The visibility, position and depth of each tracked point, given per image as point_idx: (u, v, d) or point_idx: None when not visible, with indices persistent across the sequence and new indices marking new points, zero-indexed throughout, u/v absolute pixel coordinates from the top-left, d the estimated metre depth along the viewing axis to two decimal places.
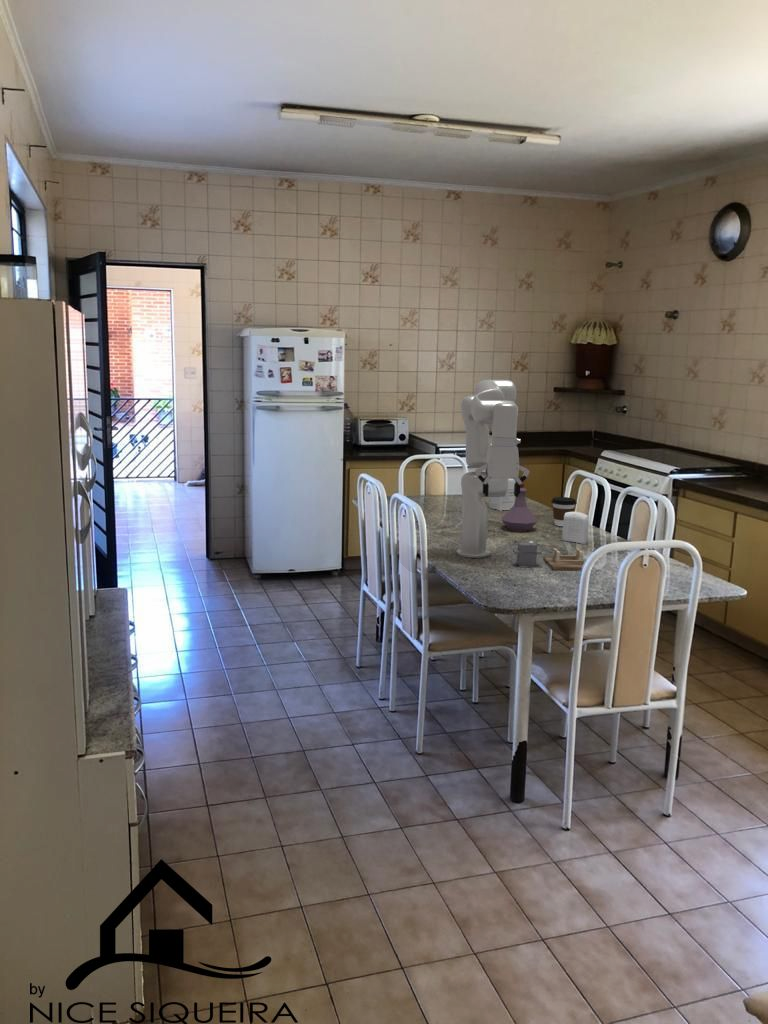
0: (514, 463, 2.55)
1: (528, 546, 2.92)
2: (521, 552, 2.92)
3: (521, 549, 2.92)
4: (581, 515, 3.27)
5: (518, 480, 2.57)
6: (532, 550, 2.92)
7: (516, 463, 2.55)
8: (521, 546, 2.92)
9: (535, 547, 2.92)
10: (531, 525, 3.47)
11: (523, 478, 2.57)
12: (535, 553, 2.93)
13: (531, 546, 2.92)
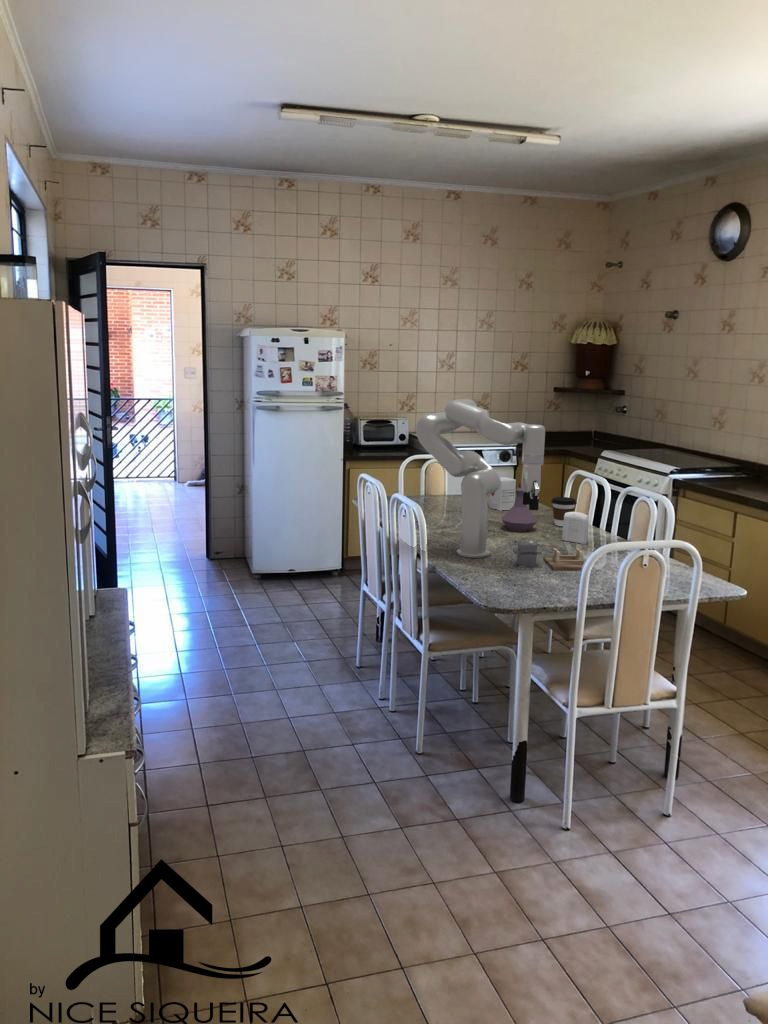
0: None
1: (528, 546, 2.92)
2: (521, 552, 2.92)
3: (521, 549, 2.92)
4: (581, 515, 3.27)
5: None
6: (532, 550, 2.92)
7: None
8: (521, 546, 2.92)
9: (535, 547, 2.92)
10: (531, 525, 3.47)
11: None
12: (535, 553, 2.93)
13: (531, 546, 2.92)
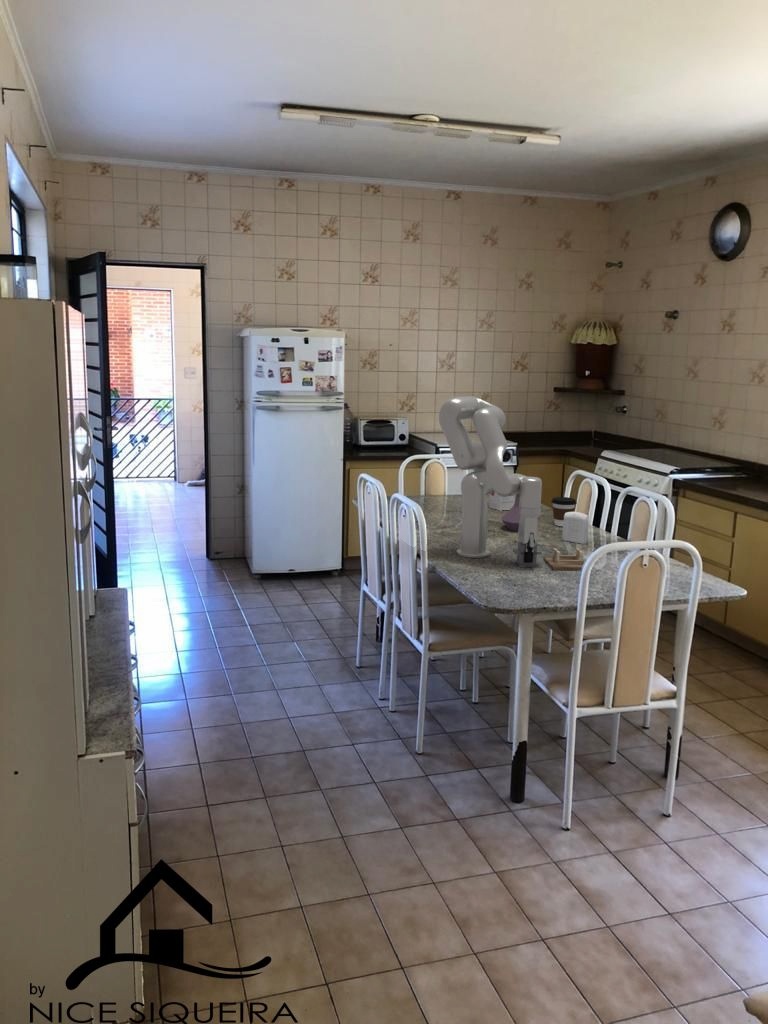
0: None
1: None
2: (521, 552, 2.92)
3: (521, 549, 2.92)
4: (581, 515, 3.27)
5: None
6: None
7: None
8: (521, 546, 2.92)
9: (535, 547, 2.92)
10: None
11: None
12: (535, 553, 2.93)
13: None
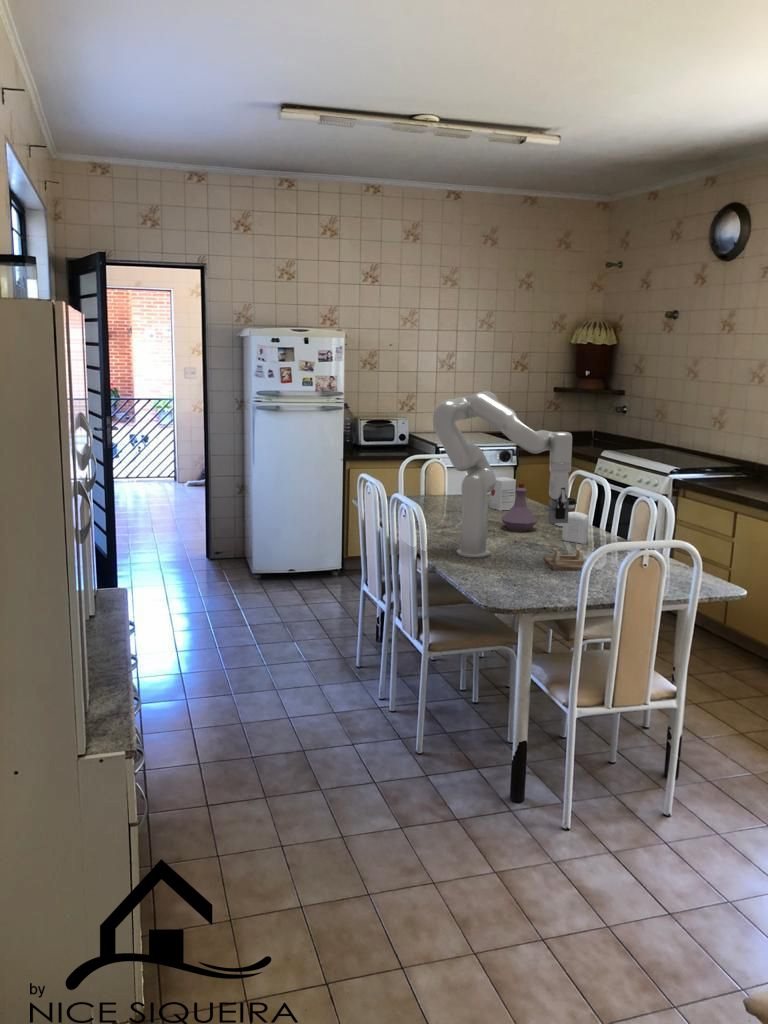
0: None
1: None
2: (552, 508, 2.89)
3: (552, 505, 2.89)
4: (581, 515, 3.27)
5: None
6: None
7: None
8: (552, 502, 2.89)
9: (567, 503, 2.89)
10: (531, 525, 3.47)
11: None
12: (567, 509, 2.90)
13: None
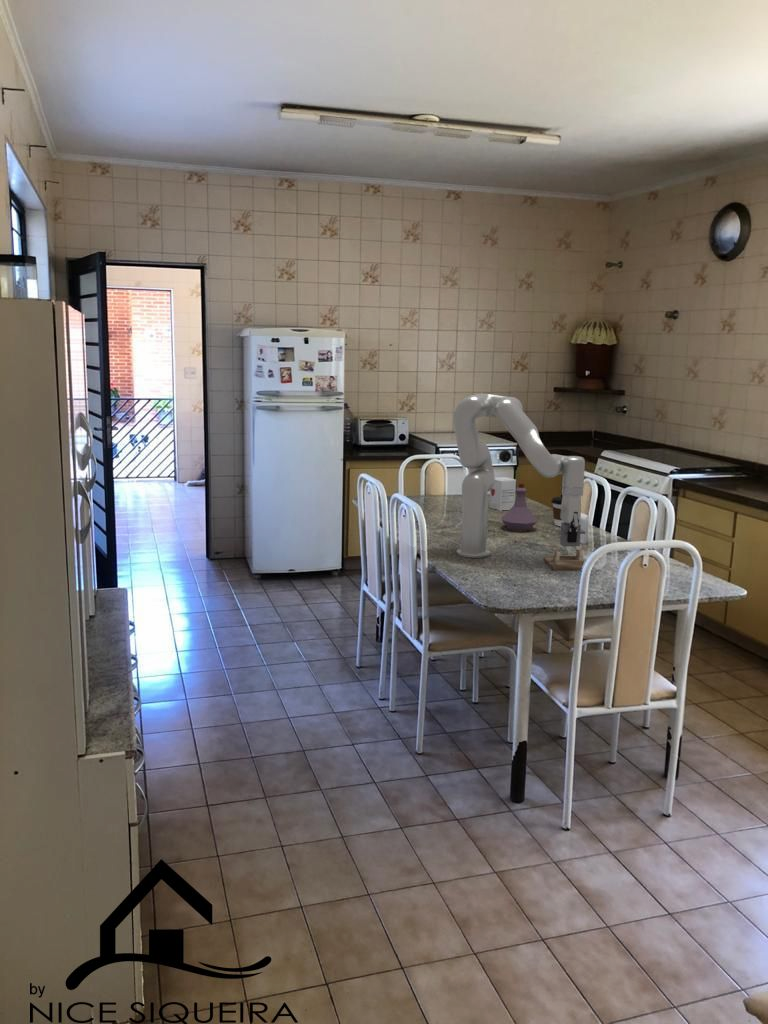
0: None
1: None
2: (565, 532, 2.92)
3: (565, 529, 2.91)
4: (581, 515, 3.27)
5: None
6: None
7: None
8: (565, 526, 2.91)
9: (579, 526, 2.91)
10: (531, 525, 3.47)
11: None
12: (579, 533, 2.92)
13: None
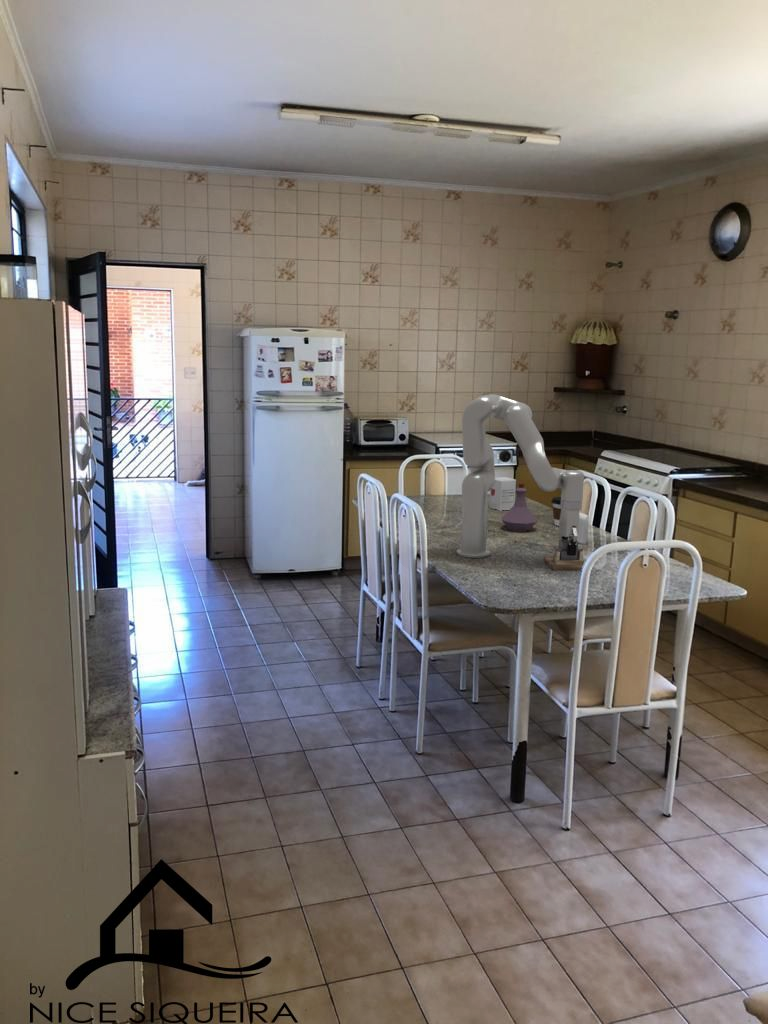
0: None
1: None
2: (562, 549, 2.93)
3: (562, 546, 2.93)
4: (581, 515, 3.27)
5: None
6: None
7: None
8: (562, 543, 2.93)
9: None
10: (531, 525, 3.47)
11: None
12: (576, 550, 2.93)
13: None
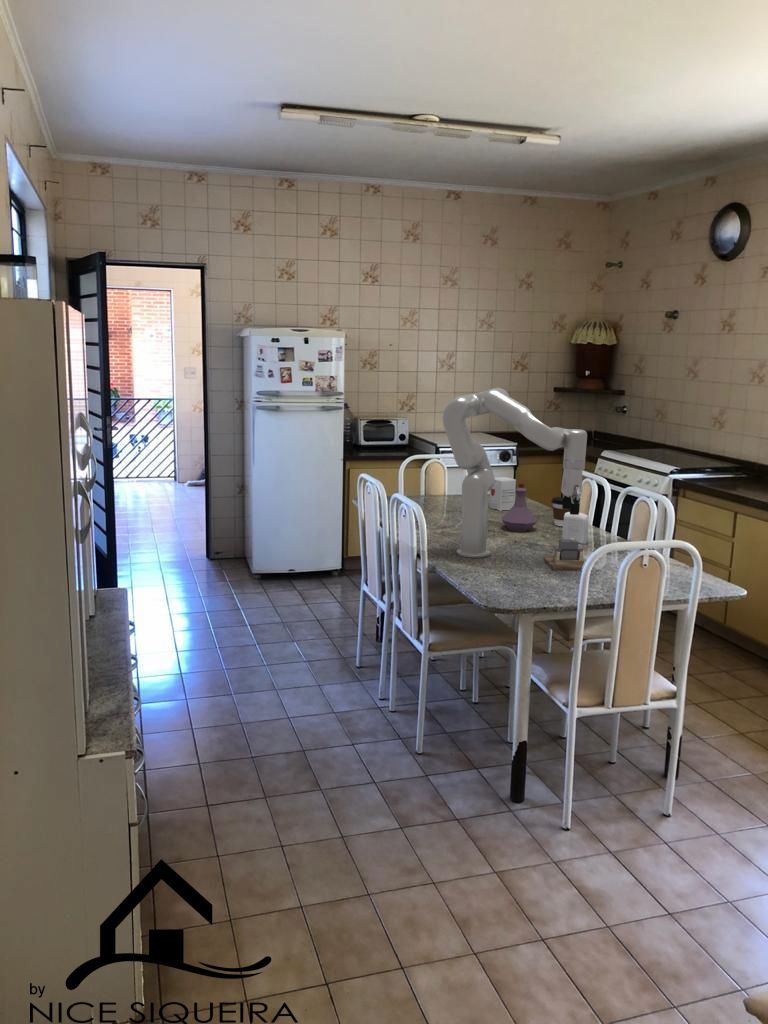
0: None
1: (570, 542, 2.93)
2: (562, 549, 2.93)
3: (562, 546, 2.93)
4: (581, 515, 3.27)
5: None
6: (573, 547, 2.93)
7: None
8: (562, 543, 2.93)
9: (576, 544, 2.93)
10: (531, 525, 3.47)
11: None
12: (576, 550, 2.93)
13: (572, 543, 2.93)
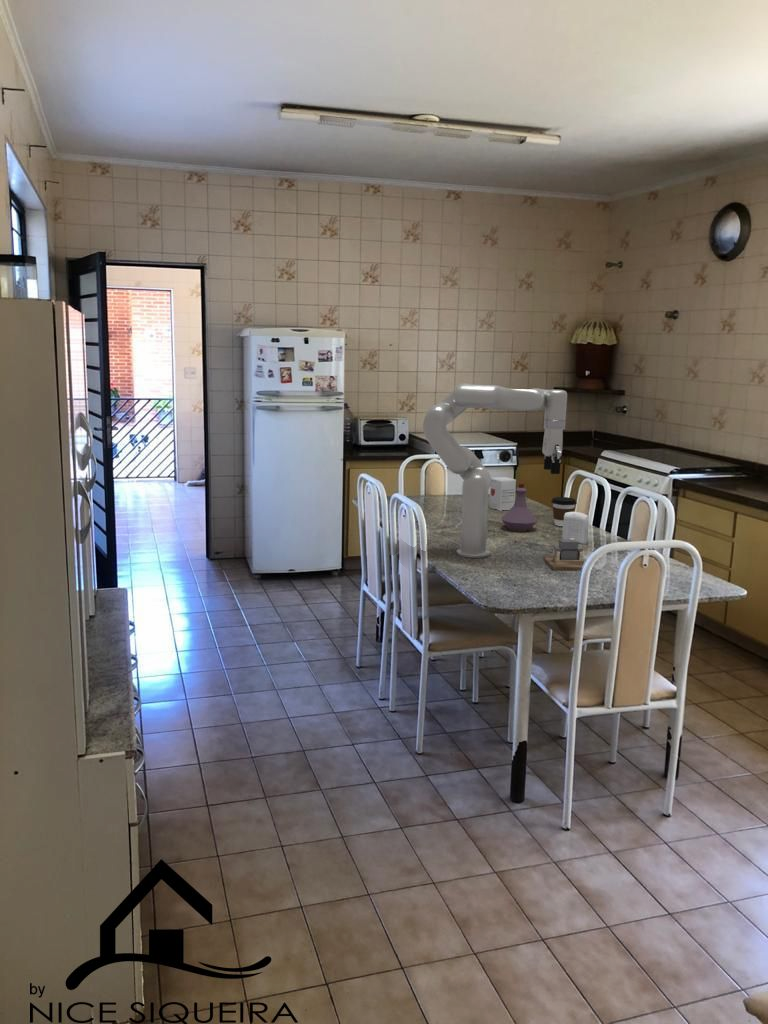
0: None
1: (570, 542, 2.93)
2: (562, 549, 2.93)
3: (562, 546, 2.93)
4: (581, 515, 3.27)
5: None
6: (573, 547, 2.93)
7: None
8: (562, 543, 2.93)
9: (576, 544, 2.93)
10: (531, 525, 3.47)
11: None
12: (576, 550, 2.93)
13: (572, 543, 2.93)
